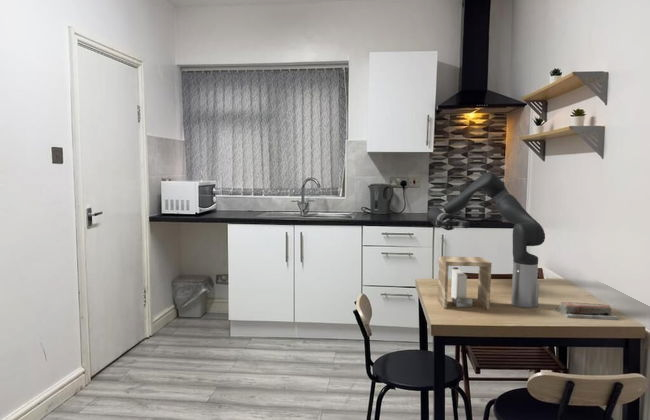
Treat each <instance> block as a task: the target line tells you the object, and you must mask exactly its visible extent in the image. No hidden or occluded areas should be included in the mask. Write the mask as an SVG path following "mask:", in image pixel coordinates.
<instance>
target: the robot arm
mask: <svg viewBox="0 0 650 420" xmlns="http://www.w3.org/2000/svg"><path fill="white" fill-rule="evenodd" d="M479 190H482V191H483V192H484V193H485V194H486V195H487V197H489V198H491V199H492V200H493V201H494V203H495V208H496V210H497V212H498V213H499V214H500V216H501V217H502V218H503V219H504V220H505V221H507V222H509V223H510V224H512V225H514V226H513V228H512V257H513V260H512V261H513V262H512V279H511V280H512V281H511V298H510V299H511V305H513V306H516V307H519V308H527V309H528V308H529V309H530V308H538V307H539V293H540V292H539V291H540V283H539V282H538V273H539V272H538V270H539V257H538V255H534V254H532V253H530V252H529V251H527V247H537V246H542V244H544V242H545V239H546V233H545V231H544V228H543V226H542V225H541V224H540V223H539V222H538V221H537V220H536V219H535V218H533V217H532V216H531V214H530V213H529V212H528V211H527V210H526V209H525V208H524V207H523V205H522V204H521V203H520V202H519V200H517V198H516V197H515V195H513V194H511V193H510V192H509V191H508V189H507V188H506V186H505V184H504V182H503V181H502V180H501V178H499V176H498V175H496V174H495V172H492V171H487V172H484V173H482V174H481V175H480V176H479V177H477V178H476V179H475V180H474V181H473V182H472V183H471V184H469V185H468V186H467V187H466V188H465V189H464V190H462V192H460V193H459V194H458V195H457V196H455V197H453V198H452V199H450V200H449V201H448V202H446V203H445V204H443V207H442V208H443V210H444V211H443V210H441V208H439V207H437V206H436V207H435V206H434V207H433V206H432V207H431V208H429V210H428V211H427V214H426V216H427V218H428V219H429V221H430V222H431V224H433V225H434V227H435V228H437V229H439V228H441V229H443V230H445V231H452V230H454V229H456V228H458V229H461V228H465V229H468V228H470V221H468V220H465V219H463V220H461V219H457V217H456V216H455V215H456V214H458V213H460V212H461V211H463V210H464V209H465V208H466V207H467V205H468V204H469V202H470V201H471V199H472V197H473V195H475V193H476V192H478V191H479Z"/></svg>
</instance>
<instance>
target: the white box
mask: <svg viewBox="0 0 650 420" xmlns="http://www.w3.org/2000/svg"><path fill="white" fill-rule="evenodd" d="M467 281H468V275H467V274H466V273H464V272H463V271H462V270H460V269H457V268H454V269H453V268H452V269H451V283H450V284H451V286H450V287H451V290H450V291H451V292H450V298H451V297H454V298H455V299H456V298H467V288H468V287H467V286H468V285H467V283H468V282H467Z"/></svg>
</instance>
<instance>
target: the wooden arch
mask: <svg viewBox="0 0 650 420" xmlns="http://www.w3.org/2000/svg"><path fill="white" fill-rule="evenodd" d="M451 266H452V267H478V283H477V285H478V286H477V290H478V291H477V303H478V304H480V305H481V306H482V307H483V308H484V309H485V310H487V311H488V310H489V311H490V308H491V307H490V305H491V288H492V287H491V282H492V262H491V261H489V260H488V259H486V258H484V257H482V256H438V276H437V277H438V278H437V279H438V280H437V286H438V287H437V302H438V303H439V305H441V307H442V308H443V309H444V310H447V309H448V288H449V283H448V282H449V267H451ZM450 298H451V299H450V301H451V302H452V304H453V305H454V306H456V307H458V308H472V307H473V299H472V298H471V297H466V298H456V299H455V298H454V297H451V296H450Z"/></svg>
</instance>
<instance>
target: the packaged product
mask: <svg viewBox="0 0 650 420" xmlns="http://www.w3.org/2000/svg"><path fill="white" fill-rule="evenodd" d="M556 310H557V312H559V313H560V314H561V315H563V316H564V317H565V318H568V319H587V320H602V321H603V320H605V321H607V320H608V321H617V320H618V316H617V315H614V314H612V311H613V308H612V307H611V306H610V305H609V304H604V303H588V302H587V303H585V302H568V301H561V303H560V305H559V307H558V308H556Z"/></svg>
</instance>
